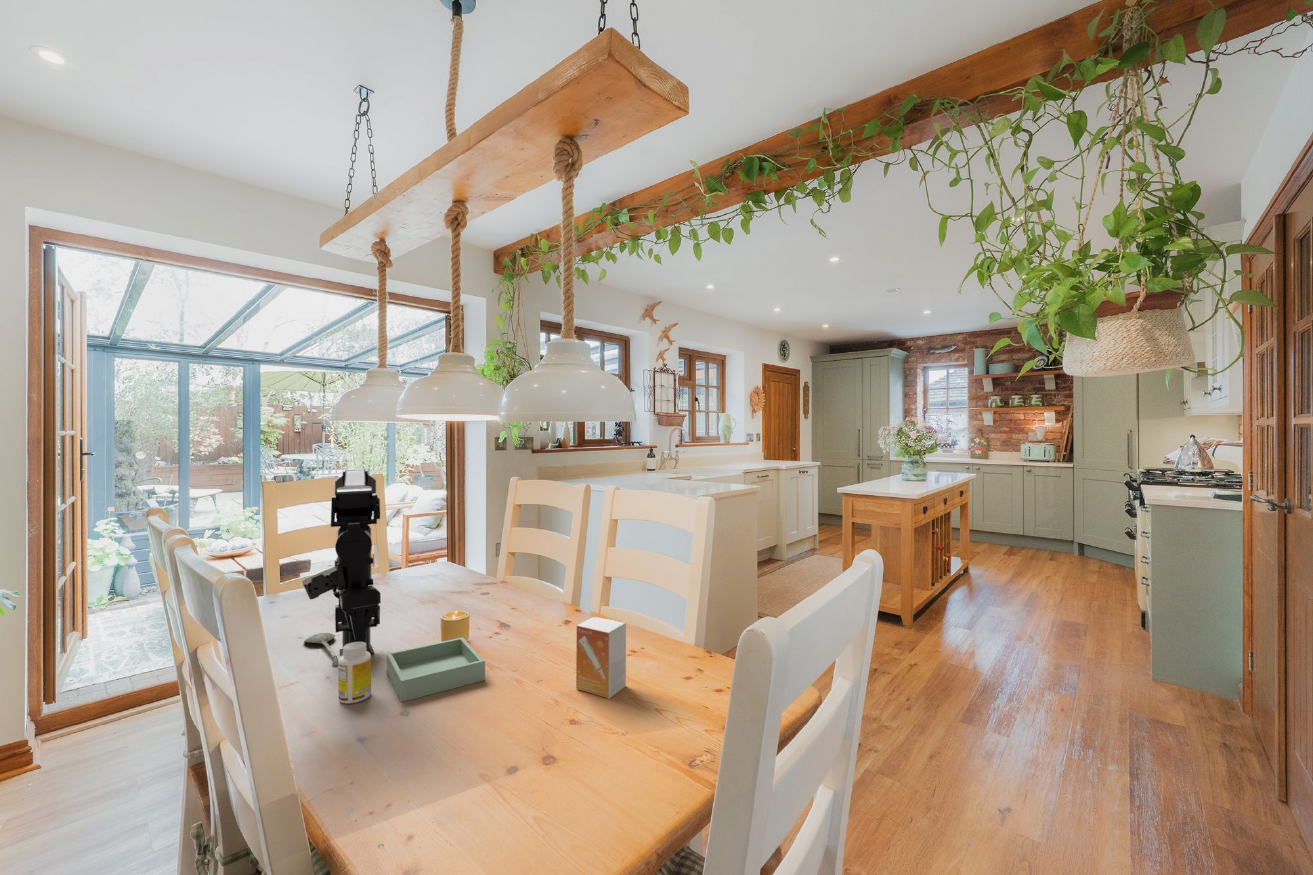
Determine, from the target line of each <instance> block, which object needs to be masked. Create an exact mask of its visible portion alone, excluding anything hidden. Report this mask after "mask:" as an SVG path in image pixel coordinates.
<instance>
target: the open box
mask: <svg viewBox="0 0 1313 875" xmlns="http://www.w3.org/2000/svg"><path fill="white" fill-rule="evenodd" d="M484 659H485V658H483V657H482V656H481V655H480V654H479V652H477V651H476V649H474V648H473V647H472V645H471V644H470V643H469V642H468V641H467V640H466V639H465V638H464V637H459V638H458V637H457V638H453V639H450V640H442V641H440V642H435V643H429V644H425V645H420V646H416V647H411V648H407V649H402V650H398V651H397V650H396V651H392V652H387V653H386V673H387V675H388V678H389V679H390V682H391V684H392V686H393V688H394V690H395V692H396V694H397V696H398V698H399V700H400V702H401V703H403V702H406V701H410V700H414V699H419V698H422V697H427V696H429V695H433V694H438V693H441V692H445V691H448V690H453V689H456V688H461V687H463V686H468V685H472V684H476V683H479V682H484V681H486V661H485V660H484Z"/></svg>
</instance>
